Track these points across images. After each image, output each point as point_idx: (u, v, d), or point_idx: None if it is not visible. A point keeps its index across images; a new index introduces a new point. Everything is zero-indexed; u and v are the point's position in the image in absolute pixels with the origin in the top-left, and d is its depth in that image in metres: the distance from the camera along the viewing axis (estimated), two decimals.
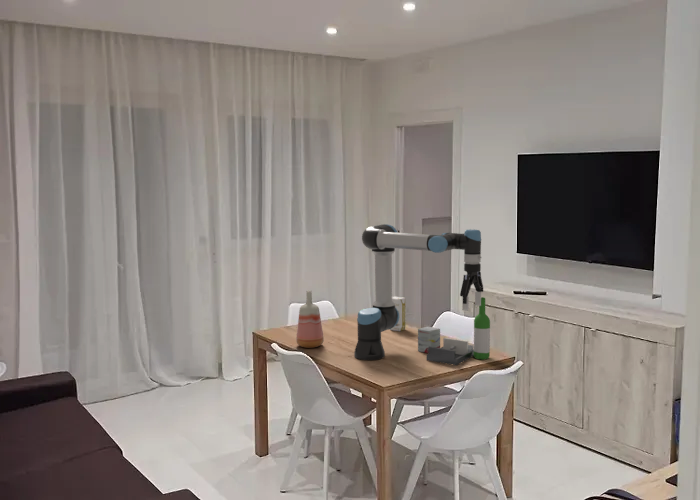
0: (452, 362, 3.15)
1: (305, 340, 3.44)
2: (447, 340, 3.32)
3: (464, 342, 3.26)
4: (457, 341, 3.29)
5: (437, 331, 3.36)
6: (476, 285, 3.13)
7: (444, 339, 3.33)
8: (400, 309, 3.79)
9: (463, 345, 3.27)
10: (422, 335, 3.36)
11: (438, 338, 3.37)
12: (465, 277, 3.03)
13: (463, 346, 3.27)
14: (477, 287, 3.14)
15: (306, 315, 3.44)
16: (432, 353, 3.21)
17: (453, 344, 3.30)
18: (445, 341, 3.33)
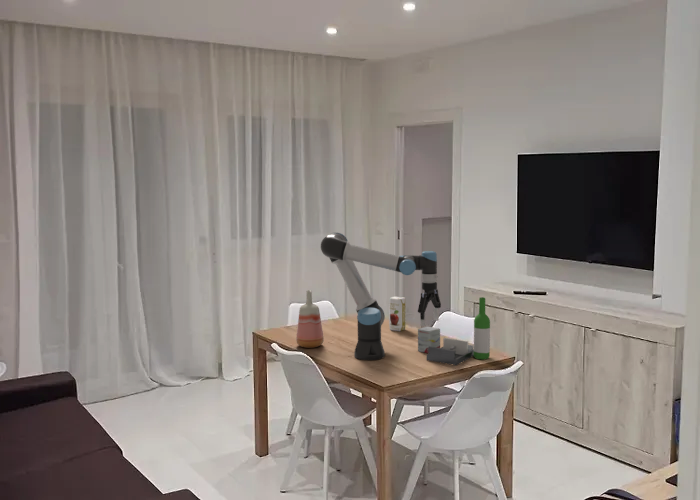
0: (452, 362, 3.15)
1: (305, 340, 3.44)
2: (447, 340, 3.32)
3: (464, 342, 3.26)
4: (457, 341, 3.29)
5: (437, 331, 3.36)
6: (434, 302, 3.40)
7: (444, 339, 3.33)
8: (400, 309, 3.79)
9: (463, 345, 3.27)
10: (422, 335, 3.36)
11: (438, 338, 3.37)
12: (422, 295, 3.30)
13: (463, 346, 3.27)
14: (435, 303, 3.41)
15: (306, 315, 3.44)
16: (432, 353, 3.21)
17: (453, 344, 3.30)
18: (445, 341, 3.33)
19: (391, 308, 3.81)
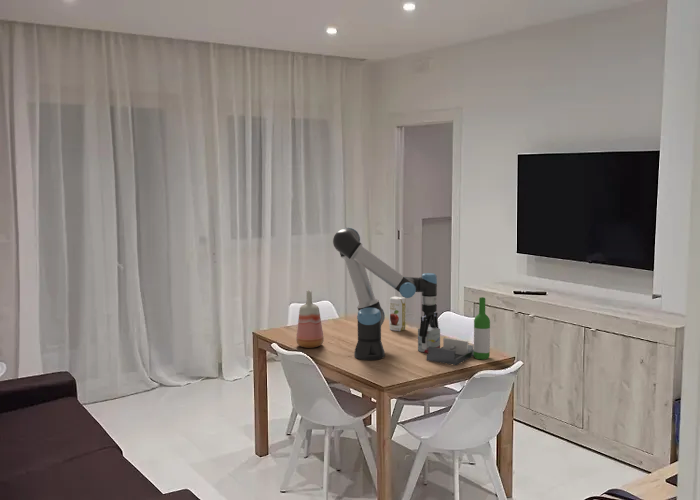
0: (452, 362, 3.15)
1: (305, 340, 3.44)
2: (447, 340, 3.32)
3: (464, 342, 3.26)
4: (457, 341, 3.29)
5: (437, 331, 3.36)
6: (432, 325, 3.41)
7: (444, 339, 3.33)
8: (400, 309, 3.79)
9: (463, 345, 3.27)
10: None
11: (438, 338, 3.37)
12: (422, 319, 3.32)
13: (463, 346, 3.27)
14: None
15: (306, 315, 3.44)
16: (432, 353, 3.21)
17: (453, 344, 3.30)
18: (445, 341, 3.33)
19: (391, 308, 3.81)
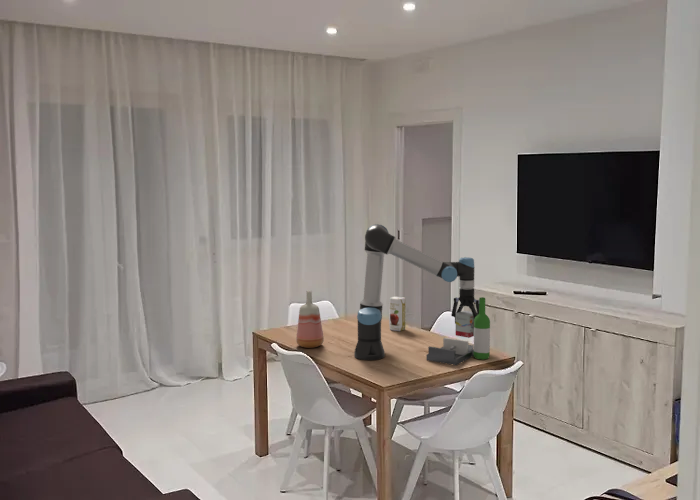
0: (452, 362, 3.15)
1: (305, 340, 3.44)
2: (447, 340, 3.32)
3: (464, 342, 3.26)
4: (457, 341, 3.29)
5: (464, 316, 3.34)
6: None
7: (444, 339, 3.33)
8: (400, 309, 3.79)
9: (463, 345, 3.27)
10: None
11: (466, 324, 3.34)
12: None
13: (463, 346, 3.27)
14: None
15: (306, 315, 3.44)
16: (432, 353, 3.21)
17: (453, 344, 3.30)
18: (445, 341, 3.33)
19: (391, 308, 3.81)
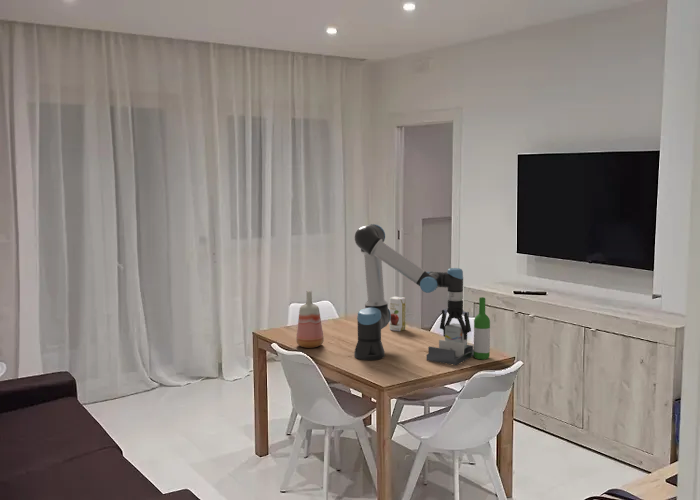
0: (452, 362, 3.15)
1: (305, 340, 3.44)
2: (443, 342, 3.28)
3: (460, 344, 3.23)
4: (453, 343, 3.25)
5: (454, 329, 3.25)
6: None
7: (440, 341, 3.29)
8: (400, 309, 3.79)
9: (459, 347, 3.23)
10: None
11: (456, 337, 3.25)
12: None
13: (459, 348, 3.23)
14: None
15: (306, 315, 3.44)
16: (432, 353, 3.21)
17: (449, 346, 3.26)
18: (441, 343, 3.29)
19: (391, 308, 3.81)
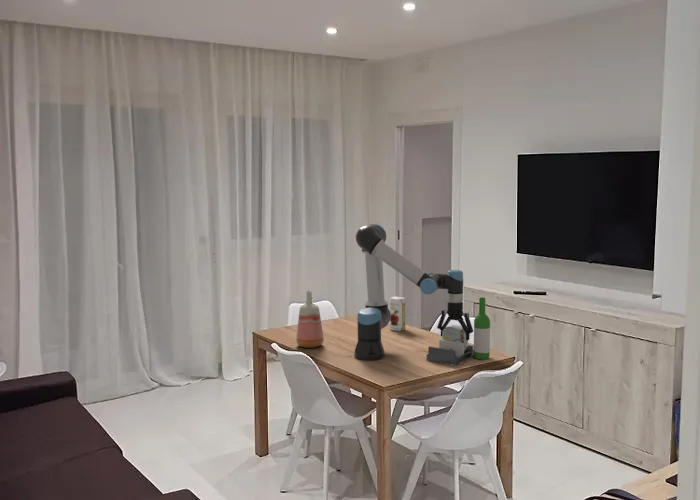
0: (452, 362, 3.15)
1: (305, 340, 3.44)
2: (443, 342, 3.28)
3: (460, 344, 3.23)
4: (453, 343, 3.25)
5: (454, 331, 3.25)
6: None
7: (440, 341, 3.29)
8: (400, 309, 3.79)
9: (459, 347, 3.23)
10: None
11: (456, 339, 3.25)
12: None
13: (459, 348, 3.23)
14: None
15: (306, 315, 3.44)
16: (432, 353, 3.21)
17: (449, 346, 3.26)
18: (441, 343, 3.29)
19: (391, 308, 3.81)
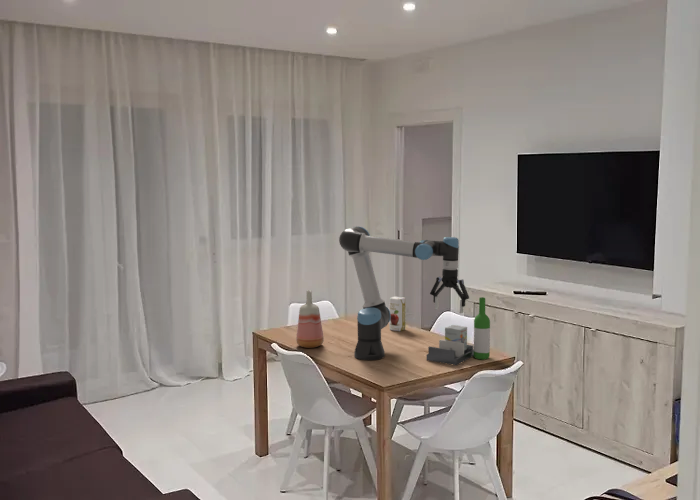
0: (452, 362, 3.15)
1: (305, 340, 3.44)
2: (443, 342, 3.28)
3: (460, 344, 3.23)
4: (453, 343, 3.25)
5: (454, 331, 3.25)
6: None
7: (440, 341, 3.29)
8: (400, 309, 3.79)
9: (459, 347, 3.23)
10: None
11: (456, 339, 3.25)
12: None
13: (459, 348, 3.23)
14: None
15: (306, 315, 3.44)
16: (432, 353, 3.21)
17: (449, 346, 3.26)
18: (441, 343, 3.29)
19: (391, 308, 3.81)
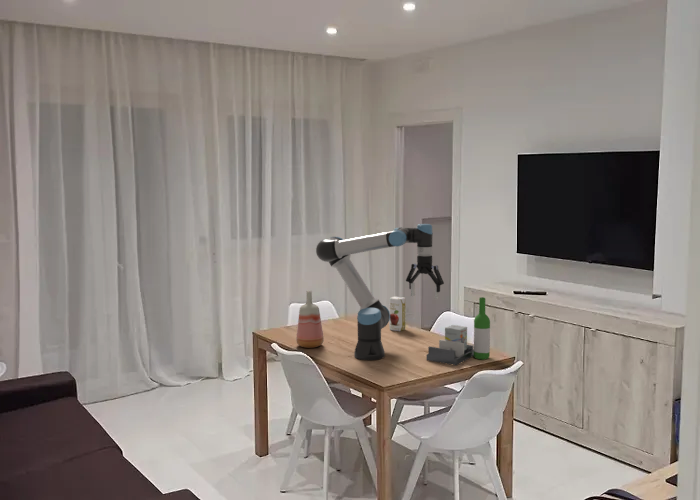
0: (452, 362, 3.15)
1: (305, 340, 3.44)
2: (443, 342, 3.28)
3: (460, 344, 3.23)
4: (453, 343, 3.25)
5: (454, 331, 3.25)
6: None
7: (440, 341, 3.29)
8: (400, 309, 3.79)
9: (459, 347, 3.23)
10: None
11: (456, 339, 3.25)
12: None
13: (459, 348, 3.23)
14: None
15: (306, 315, 3.44)
16: (432, 353, 3.21)
17: (449, 346, 3.26)
18: (441, 343, 3.29)
19: (391, 308, 3.81)
